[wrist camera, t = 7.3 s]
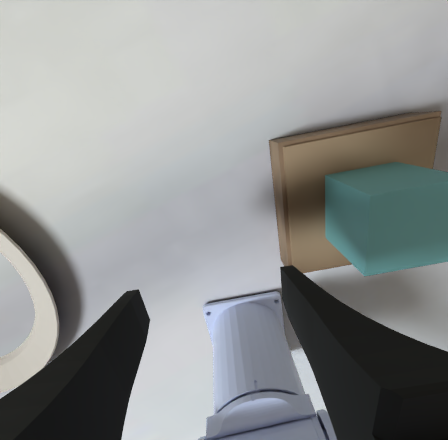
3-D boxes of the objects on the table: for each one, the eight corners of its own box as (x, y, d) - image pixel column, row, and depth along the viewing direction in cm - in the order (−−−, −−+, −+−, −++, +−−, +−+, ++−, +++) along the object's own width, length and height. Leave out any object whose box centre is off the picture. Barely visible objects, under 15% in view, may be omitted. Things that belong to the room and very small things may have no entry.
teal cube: (389, 226, 18) (450, 261, 13) (325, 237, 18) (364, 276, 14) (396, 161, 16) (470, 176, 12) (325, 175, 16) (370, 195, 12)
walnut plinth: (395, 238, 22) (421, 254, 19) (280, 259, 22) (290, 278, 19) (410, 112, 18) (447, 110, 15) (268, 140, 18) (279, 143, 15)
